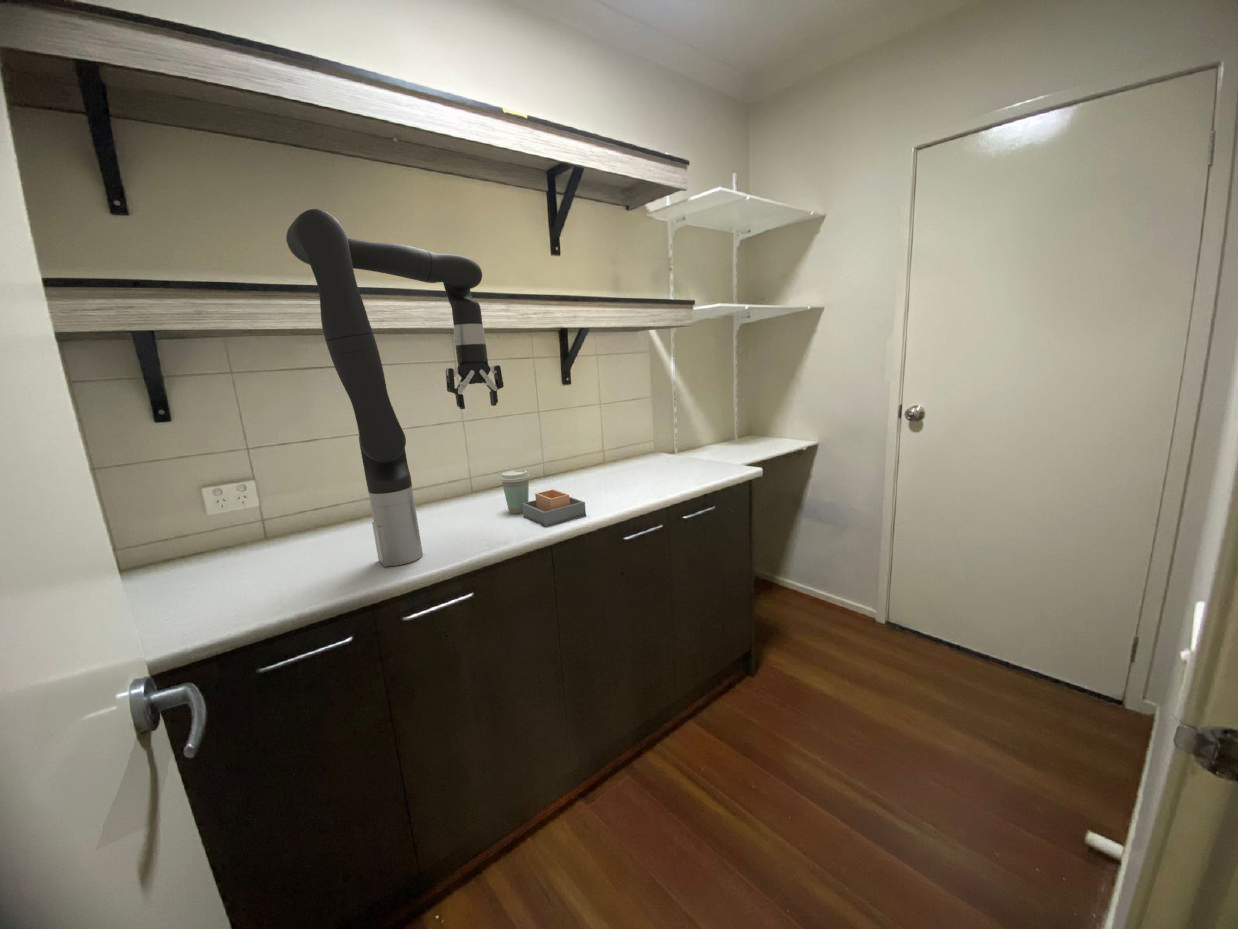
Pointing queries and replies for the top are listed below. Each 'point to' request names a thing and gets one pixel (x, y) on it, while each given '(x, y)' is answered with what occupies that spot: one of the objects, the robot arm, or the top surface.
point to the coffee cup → (515, 489)
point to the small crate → (551, 500)
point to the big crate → (554, 512)
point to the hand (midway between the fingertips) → (478, 407)
